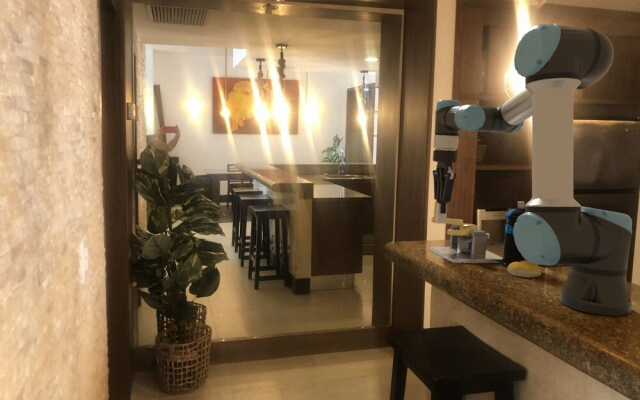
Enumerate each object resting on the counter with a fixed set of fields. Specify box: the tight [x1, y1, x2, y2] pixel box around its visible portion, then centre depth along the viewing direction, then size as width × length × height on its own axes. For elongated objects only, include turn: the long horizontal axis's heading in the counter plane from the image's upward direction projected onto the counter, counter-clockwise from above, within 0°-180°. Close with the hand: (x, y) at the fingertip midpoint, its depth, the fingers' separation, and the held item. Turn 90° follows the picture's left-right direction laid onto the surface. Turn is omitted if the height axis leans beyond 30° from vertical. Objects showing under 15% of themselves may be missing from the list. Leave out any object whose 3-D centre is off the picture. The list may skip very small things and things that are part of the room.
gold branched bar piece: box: [431, 200, 490, 240], centre depth 175 cm, size 6×18×11 cm, turn 66°
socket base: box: [429, 222, 503, 264], centre depth 174 cm, size 18×18×10 cm
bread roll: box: [506, 260, 542, 279], centre depth 154 cm, size 8×9×4 cm
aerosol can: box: [501, 201, 526, 268], centre depth 163 cm, size 8×8×20 cm
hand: (440, 223), depth 171 cm, fingers closed
